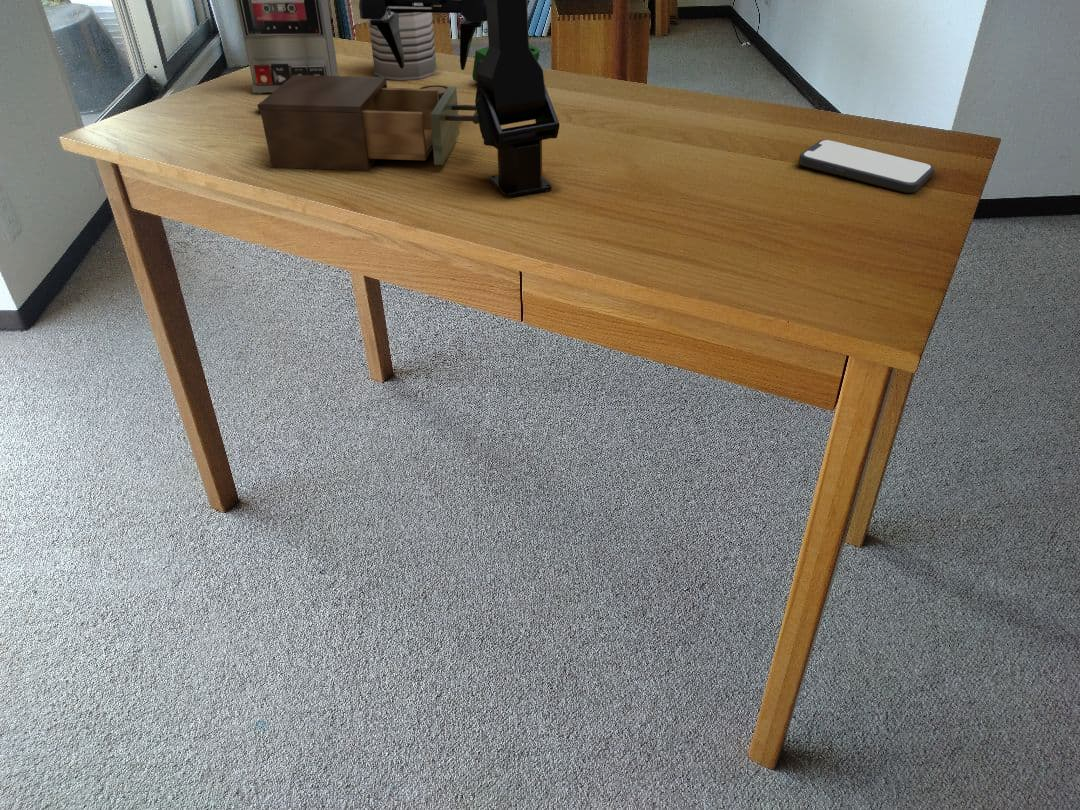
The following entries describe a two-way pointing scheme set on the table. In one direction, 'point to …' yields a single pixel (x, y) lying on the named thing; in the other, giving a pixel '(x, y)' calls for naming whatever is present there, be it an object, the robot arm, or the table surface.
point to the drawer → (413, 123)
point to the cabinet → (319, 122)
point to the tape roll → (440, 88)
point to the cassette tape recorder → (286, 40)
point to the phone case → (867, 166)
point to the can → (406, 48)
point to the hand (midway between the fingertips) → (432, 68)
